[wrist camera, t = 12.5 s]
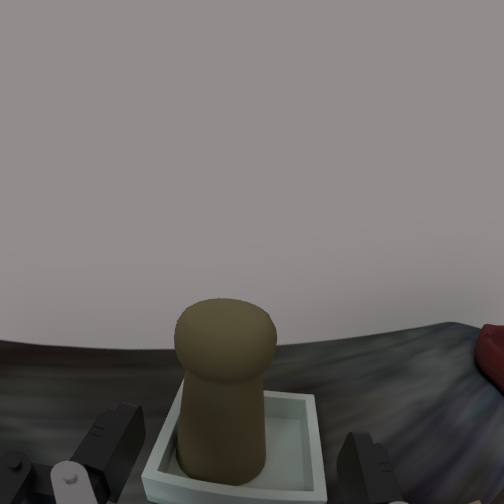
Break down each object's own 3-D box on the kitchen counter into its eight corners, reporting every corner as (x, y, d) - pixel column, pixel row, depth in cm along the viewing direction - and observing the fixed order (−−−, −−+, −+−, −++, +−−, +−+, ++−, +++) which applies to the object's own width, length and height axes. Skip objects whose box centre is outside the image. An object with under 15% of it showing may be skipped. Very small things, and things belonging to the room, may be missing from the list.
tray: (147, 500, 13) (141, 476, 13) (184, 405, 23) (183, 378, 22) (313, 522, 13) (327, 500, 12) (305, 421, 23) (313, 394, 22)
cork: (232, 415, 22) (242, 281, 19) (284, 463, 17) (315, 318, 15) (160, 439, 18) (147, 295, 16) (205, 501, 14) (202, 351, 11)
